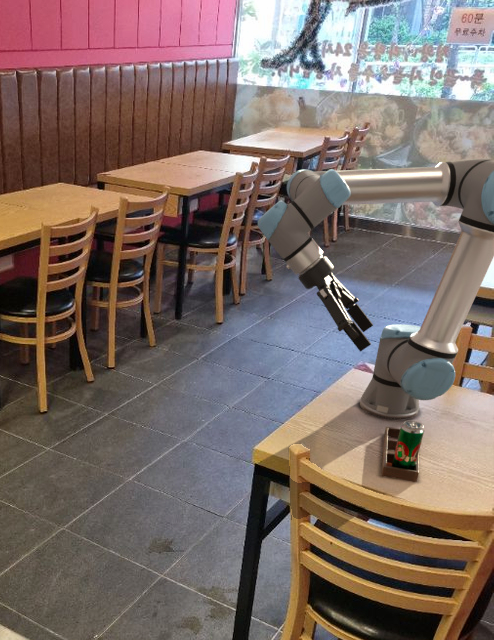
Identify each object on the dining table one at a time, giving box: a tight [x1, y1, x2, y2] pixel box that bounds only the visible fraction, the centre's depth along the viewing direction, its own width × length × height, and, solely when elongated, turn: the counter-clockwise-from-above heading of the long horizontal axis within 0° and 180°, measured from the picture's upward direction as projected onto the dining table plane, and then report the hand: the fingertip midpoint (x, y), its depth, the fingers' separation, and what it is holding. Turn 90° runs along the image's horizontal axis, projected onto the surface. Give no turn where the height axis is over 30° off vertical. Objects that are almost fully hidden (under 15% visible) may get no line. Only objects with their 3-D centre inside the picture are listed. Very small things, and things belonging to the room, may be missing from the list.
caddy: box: [381, 426, 420, 483], centre depth 178 cm, size 22×8×2 cm, turn 162°
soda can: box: [391, 420, 425, 470], centre depth 170 cm, size 5×5×12 cm
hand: (367, 337), depth 170 cm, fingers open, 13 cm apart
